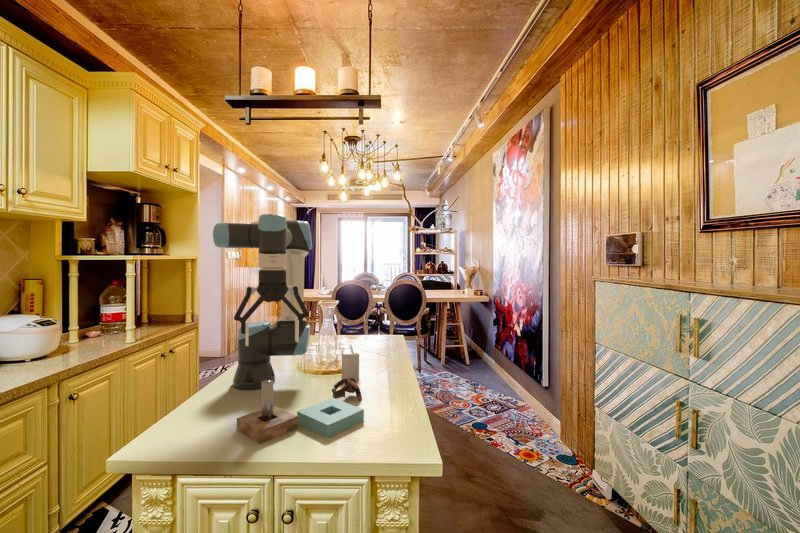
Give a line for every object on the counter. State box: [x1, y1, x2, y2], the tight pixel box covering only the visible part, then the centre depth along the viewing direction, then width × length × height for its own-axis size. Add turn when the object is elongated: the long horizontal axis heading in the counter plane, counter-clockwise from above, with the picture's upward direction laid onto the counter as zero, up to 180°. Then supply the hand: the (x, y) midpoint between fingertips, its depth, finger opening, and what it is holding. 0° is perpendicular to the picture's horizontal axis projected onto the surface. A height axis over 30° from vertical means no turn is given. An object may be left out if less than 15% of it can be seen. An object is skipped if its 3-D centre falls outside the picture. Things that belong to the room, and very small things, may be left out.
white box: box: [341, 353, 360, 381], centre depth 154 cm, size 4×7×10 cm, turn 95°
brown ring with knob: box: [331, 377, 363, 402], centre depth 134 cm, size 12×10×8 cm
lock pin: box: [261, 379, 274, 422], centre depth 109 cm, size 3×3×14 cm
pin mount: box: [236, 405, 299, 444], centre depth 110 cm, size 12×12×4 cm
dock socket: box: [296, 397, 365, 438], centre depth 115 cm, size 14×14×4 cm
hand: (272, 343), depth 109 cm, fingers open, 13 cm apart
